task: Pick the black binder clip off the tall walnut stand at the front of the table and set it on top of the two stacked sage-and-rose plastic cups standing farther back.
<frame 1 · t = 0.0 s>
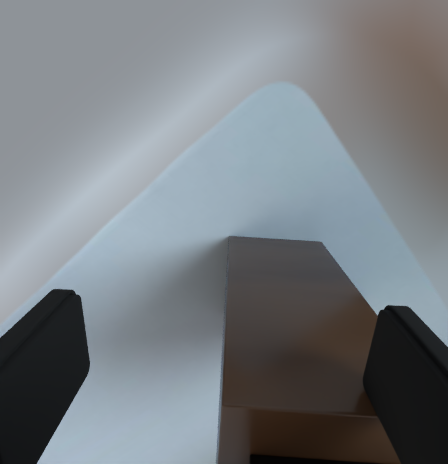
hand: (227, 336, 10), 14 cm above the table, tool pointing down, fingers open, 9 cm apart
clip stand: (270, 280, 24), on the table
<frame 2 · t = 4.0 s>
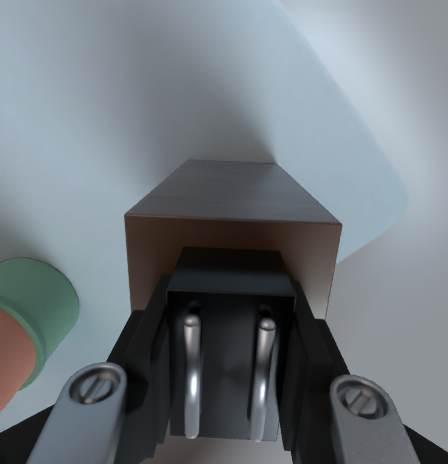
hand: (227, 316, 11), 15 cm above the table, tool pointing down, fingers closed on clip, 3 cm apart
cup stack: (32, 300, 29), on the table
clip stand: (230, 205, 25), on the table
clip: (228, 312, 11), point 15 cm above the table, touching clip stand, gripper
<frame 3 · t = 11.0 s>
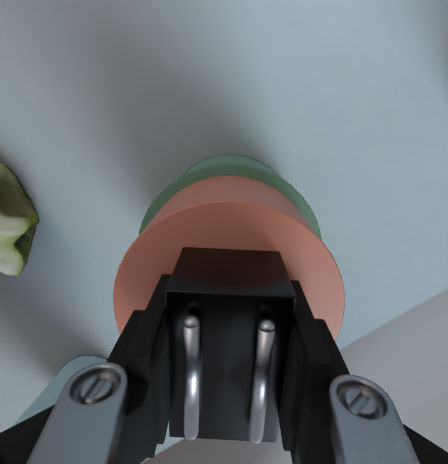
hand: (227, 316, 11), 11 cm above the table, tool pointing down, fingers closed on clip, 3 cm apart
cup stack: (230, 220, 21), on the table
cup: (95, 378, 27), on the table
clip: (227, 313, 11), point 11 cm above the table, touching gripper
when the fingers open (12 cm above the table, at t = 14.8 s): clip stays where it is, resting on cup stack.
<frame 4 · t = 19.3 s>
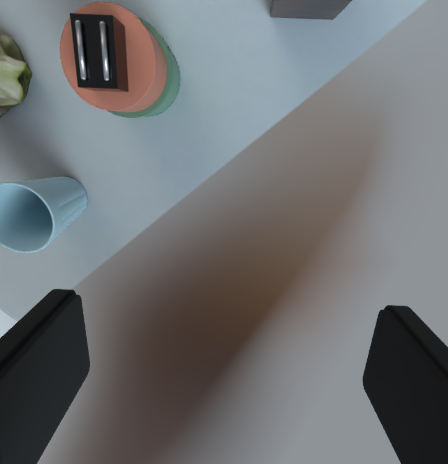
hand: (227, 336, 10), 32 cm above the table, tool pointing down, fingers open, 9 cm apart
fruit: (2, 71, 37), on the table
cup stack: (143, 77, 36), on the table
cup: (68, 196, 42), on the table
clip: (108, 59, 26), point 11 cm above the table, touching cup stack
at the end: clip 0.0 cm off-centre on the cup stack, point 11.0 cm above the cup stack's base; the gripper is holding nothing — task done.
